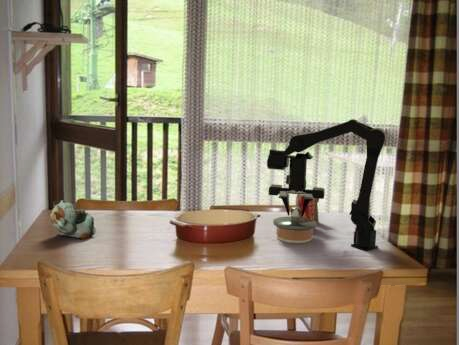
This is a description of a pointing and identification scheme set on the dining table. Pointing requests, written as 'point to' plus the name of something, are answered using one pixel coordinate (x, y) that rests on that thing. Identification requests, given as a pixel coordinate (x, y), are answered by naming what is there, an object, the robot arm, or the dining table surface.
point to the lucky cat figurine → (72, 221)
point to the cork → (316, 211)
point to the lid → (295, 221)
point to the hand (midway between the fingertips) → (295, 215)
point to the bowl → (294, 235)
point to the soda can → (309, 209)
